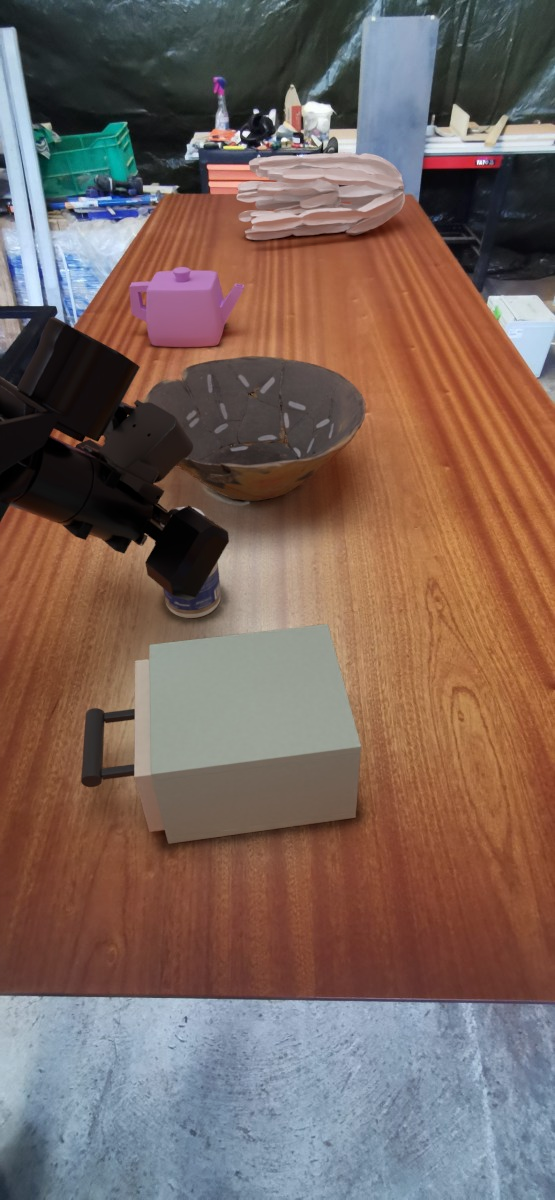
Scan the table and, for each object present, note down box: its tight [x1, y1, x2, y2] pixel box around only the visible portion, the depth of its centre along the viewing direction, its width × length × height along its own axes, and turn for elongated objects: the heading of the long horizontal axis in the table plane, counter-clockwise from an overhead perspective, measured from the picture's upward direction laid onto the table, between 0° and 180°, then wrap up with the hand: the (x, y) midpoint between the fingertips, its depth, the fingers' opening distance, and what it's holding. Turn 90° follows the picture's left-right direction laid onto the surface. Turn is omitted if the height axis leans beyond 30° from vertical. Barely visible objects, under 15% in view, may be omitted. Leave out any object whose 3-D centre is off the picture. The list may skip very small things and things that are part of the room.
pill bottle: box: [161, 506, 222, 619], centre depth 68 cm, size 5×5×10 cm
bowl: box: [140, 355, 366, 502], centre depth 83 cm, size 25×25×10 cm
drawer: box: [80, 658, 165, 833], centre depth 54 cm, size 17×10×7 cm, turn 98°
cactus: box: [235, 151, 406, 241], centre depth 151 cm, size 17×18×35 cm
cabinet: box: [148, 623, 362, 845], centre depth 54 cm, size 14×12×9 cm
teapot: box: [128, 266, 245, 348], centre depth 115 cm, size 18×10×10 cm, turn 86°
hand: (198, 541), depth 68 cm, fingers closed on pill bottle, 5 cm apart
